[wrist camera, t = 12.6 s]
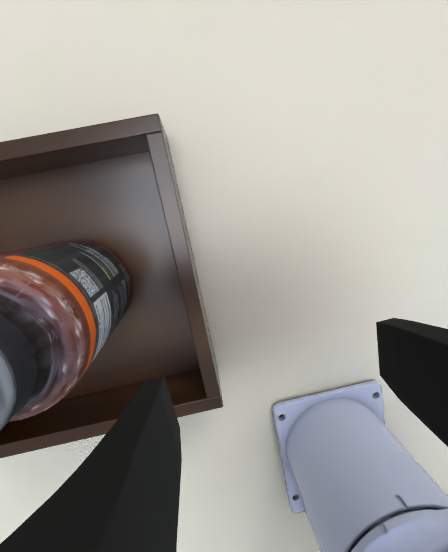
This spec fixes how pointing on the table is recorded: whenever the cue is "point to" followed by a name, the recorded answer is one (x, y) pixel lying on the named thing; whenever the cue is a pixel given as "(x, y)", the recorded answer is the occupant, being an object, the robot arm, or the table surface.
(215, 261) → the table surface
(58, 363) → the supplement bottle
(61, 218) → the crate
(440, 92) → the table surface
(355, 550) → the robot arm
